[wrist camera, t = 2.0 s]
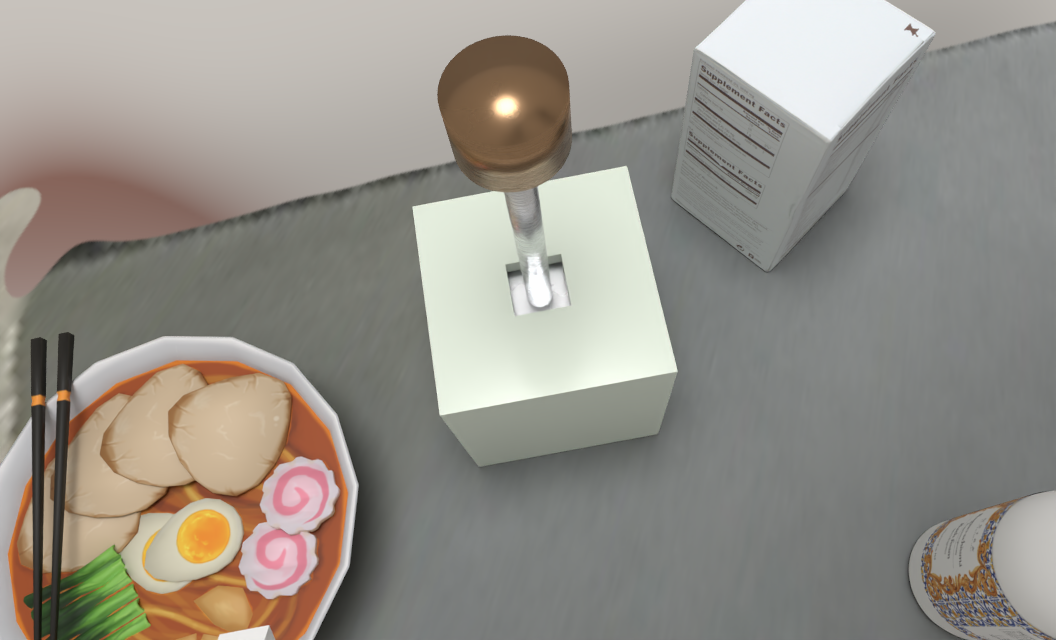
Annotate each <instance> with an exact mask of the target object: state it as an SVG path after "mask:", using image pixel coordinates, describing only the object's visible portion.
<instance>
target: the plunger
mask: <svg viewBox="0 0 1056 640" xmlns="http://www.w3.org/2000/svg"><path fill="white" fill-rule="evenodd" d="M437 95H438V103H439V108H440V111H441V115H442V118H443V121H444V124H445V128H446V131H447V134H448V137H449V141H450V144H451V147H452V150H453V154H454V157H455V160H456V162H457V164H458V166H459V168H460V169H461V171H462V172H463V173H464V174H465V175H466V176H467V177H468V178H469V179H470V180H471V181H473V182H474V183H476V184H477V185H479V186H481V187H483V188H486V189H489V190H492V191H497V192H504V195H505V199H506V204H507V208H508V213H509V218H510V222H511V227H512V231H513V236H514V240H515V245H516V249H517V254H518V259H519V263H520V268H521V270H516V271H511V272H507V273H508V279H509V285H510V290H511V296H512V302H513V308H514V313H515V316H518V315H523V314H529V313H534V312H539V311H545V310H550V309H555V308H561V307H566V306H571V305H570V300H569V295H568V290H567V285H566V280H565V275H564V270H563V266H562V262H558V263H553V264H548V257H547V249H546V242H545V235H544V228H543V221H542V214H541V207H540V199H539V192H538V186H539V185H541V184H543V183H545V182H546V181H548V180H549V179H551V178H552V177H553V176H554V175H555V174H556V173H557V172H558V171H559V170H560V169H561V168H562V166H563V165H564V163H565V161H566V159H567V157H568V155H569V152H570V149H571V143H572V129H571V114H570V113H571V112H570V93H569V81H568V76H567V72H566V69H565V67H564V65H563V63H562V62H561V60H560V59H559V58H558V56H557V55H556V54H555V53H554V52H553V51H551V50H550V49H549V48H548V47H546V46H545V45H543V44H541V43H539V42H537V41H535V40H532V39H528V38H525V37H520V36H496V37H491V38H487V39H483V40H481V41H478V42H476V43H474V44H472V45H469V46H468V47H466V48H465V49H463V50H462V51H461V52H459V53H458V54H457V55H456V56H455V57H454V58H453V59H452V60H451V61H450V62H449V64H448V65H447V66H446V68H445V70H444V72H443V73H442V76H441V79H440V82H439V85H438V94H437Z"/></svg>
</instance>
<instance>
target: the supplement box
mask: <svg viewBox="0 0 1056 640" xmlns="http://www.w3.org/2000/svg"><path fill="white" fill-rule="evenodd" d="M934 36H935V31H933V30H932V29H930V28H929V27H927V26H926V25H924V24H923V23H921V22H919V21H918V20H916V19H914V18H913V17H911V16H910V15H908V14H906V13H905V12H903V11H902V10H900V9H898V8H897V7H895V6H893V5H892V4H890V3H888V2H887V1H885V0H746V1H744V2H743V4H741V5H740V6H739V7H738V8H737V9H736V10H735V11H734V12H733V13H732V14H731V15H730V16H729V17H728V18H727V19H726V20H724V22H722V23H721V24H720V25H719V26H718V27H717V28H716V29H715V30H714V31H713V32H712V33H711V34H710V35H709V36H708V37H707V38H706V39H705V40H703V41H702V42H701V43H700V44H699V45H698V46H697V47H695V49H694V53H693V59H692V66H691V73H690V80H689V85H688V92H687V98H686V105H685V111H684V118H683V124H682V130H681V137H680V143H679V149H678V156H677V162H676V169H675V175H674V182H673V188H672V195H671V198H672V199H673V200H674V201H675V202H677V203H678V204H679V205H680V206H682V207H683V208H684V209H686V210H687V211H688V212H689V213H691V214H692V215H693V216H695V217H696V218H697V219H698V220H700V221H701V222H702V223H704V224H705V225H706V226H707V227H709V228H710V229H711V230H713V231H714V232H715V233H716V234H718V235H719V236H720V237H722V238H723V239H724V240H726V241H727V242H728V243H729V244H731V245H732V246H733V247H734V248H736V249H737V250H738V251H740V252H741V253H742V254H744V255H745V256H746V257H747V258H749V259H750V260H751V261H753V262H754V263H755V264H756V265H758V266H759V267H760V268H762V269H763V270H764V271H766V272H769V271H770V270H772V269H773V268H774V267H775V266H776V265H777V264H778V263H779V262H780V261H781V260H782V259H783V258H784V256H785V255H786V254H787V253H788V252H789V251H790V250H791V249H792V248H793V247H794V246H795V245H796V244H797V243H798V241H799V240H800V239H801V238H802V237H803V236H804V235H805V234H806V233H807V232H808V231H809V229H810V228H811V227H812V226H813V225H814V224H815V223H816V222H817V221H818V220H819V219H820V218H821V217H822V216H823V215H824V214H825V212H826V211H827V210H828V209H829V208H830V207H831V206H832V205H833V204H834V203H835V202H836V201H837V200H838V199H839V198H840V197H841V196H842V194H843V193H844V192H845V191H846V190H847V189H848V187H849V185H850V183H851V182H852V180H853V178H854V176H855V175H856V173H857V171H858V169H859V168H860V166H861V164H862V162H863V161H864V159H865V157H866V155H867V154H868V152H869V150H870V148H871V147H872V145H873V143H874V141H875V140H876V138H877V136H878V134H879V132H880V130H881V129H882V127H883V125H884V123H885V122H886V120H887V118H888V116H889V114H890V113H891V111H892V109H893V107H894V106H895V104H896V102H897V101H898V99H899V97H900V96H901V94H902V92H903V90H904V89H905V87H906V85H907V84H908V82H909V80H910V79H911V77H912V75H913V73H914V71H915V70H916V68H917V66H918V64H919V63H920V61H921V59H922V57H923V56H924V54H925V52H926V50H927V49H928V47H929V45H930V43H931V42H932V40H933V38H934Z"/></svg>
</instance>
